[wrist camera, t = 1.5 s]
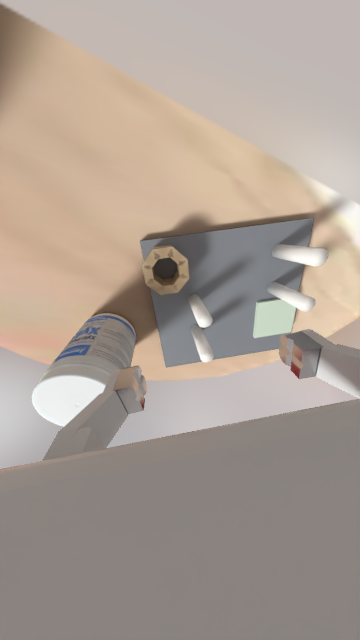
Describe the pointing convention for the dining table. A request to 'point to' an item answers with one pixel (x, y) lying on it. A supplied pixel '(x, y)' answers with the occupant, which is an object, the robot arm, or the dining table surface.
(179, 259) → the ring
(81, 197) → the dining table surface
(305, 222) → the board
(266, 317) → the pad
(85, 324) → the supplement tub
